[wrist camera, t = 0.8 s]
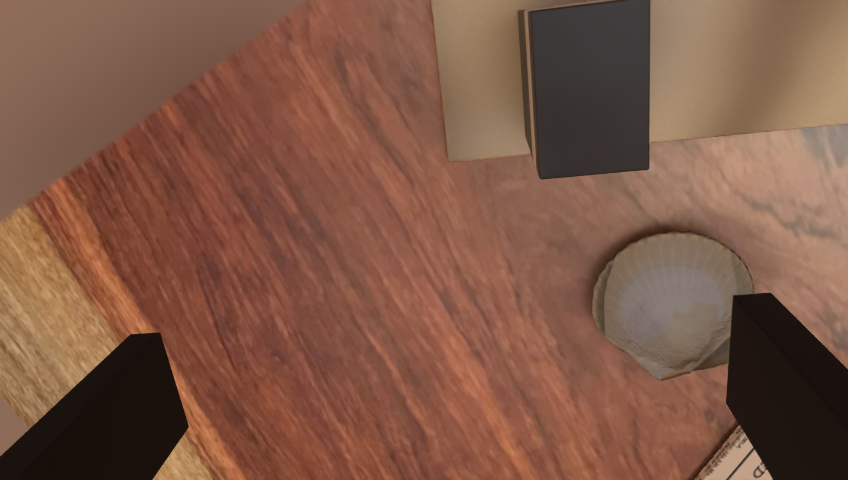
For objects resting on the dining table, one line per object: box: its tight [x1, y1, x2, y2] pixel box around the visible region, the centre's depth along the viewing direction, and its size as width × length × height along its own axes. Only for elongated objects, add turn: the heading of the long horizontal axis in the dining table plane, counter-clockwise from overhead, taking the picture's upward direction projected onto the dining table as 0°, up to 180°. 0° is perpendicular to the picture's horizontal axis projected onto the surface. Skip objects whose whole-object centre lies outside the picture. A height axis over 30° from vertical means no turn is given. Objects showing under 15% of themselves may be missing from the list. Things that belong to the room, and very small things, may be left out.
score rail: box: [431, 0, 848, 162], centre depth 28 cm, size 30×8×4 cm, turn 97°
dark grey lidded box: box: [518, 0, 650, 179], centre depth 25 cm, size 4×6×8 cm
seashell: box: [592, 231, 754, 381], centre depth 33 cm, size 8×3×8 cm
